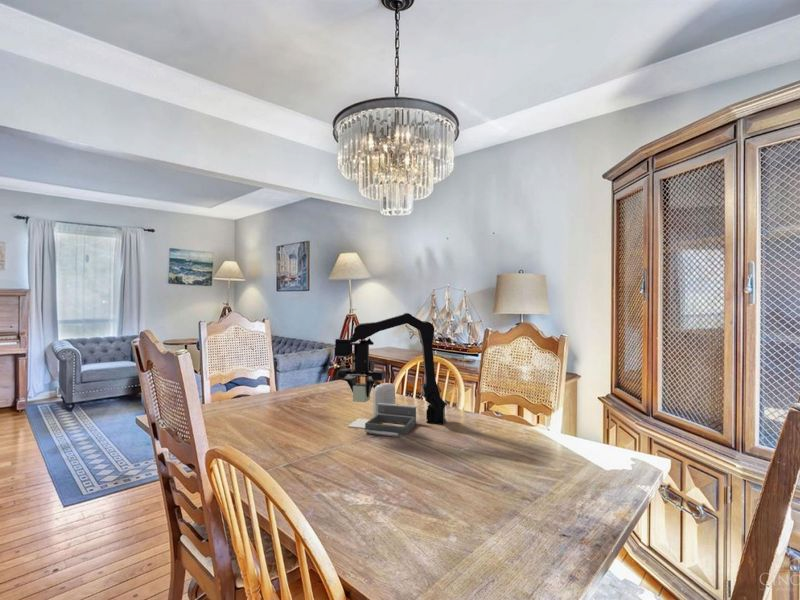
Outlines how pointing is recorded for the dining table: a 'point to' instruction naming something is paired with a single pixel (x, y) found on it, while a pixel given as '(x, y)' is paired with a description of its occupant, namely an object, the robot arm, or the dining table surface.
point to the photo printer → (384, 395)
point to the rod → (382, 433)
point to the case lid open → (397, 409)
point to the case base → (389, 428)
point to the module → (360, 393)
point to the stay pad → (359, 423)
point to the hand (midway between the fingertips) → (361, 396)
